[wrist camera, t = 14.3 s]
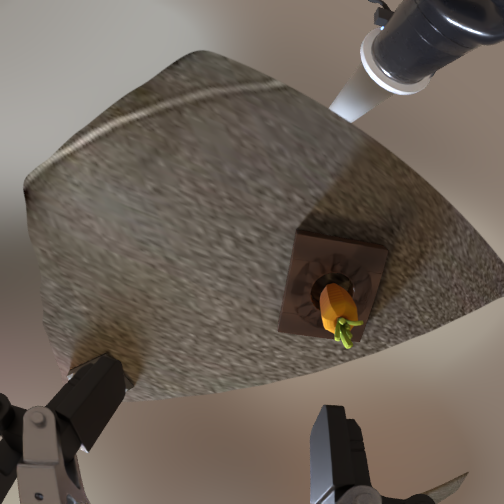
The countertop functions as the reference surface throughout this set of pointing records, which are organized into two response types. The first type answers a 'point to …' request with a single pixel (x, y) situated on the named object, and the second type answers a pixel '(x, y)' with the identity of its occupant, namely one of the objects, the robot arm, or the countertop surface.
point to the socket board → (324, 262)
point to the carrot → (339, 313)
